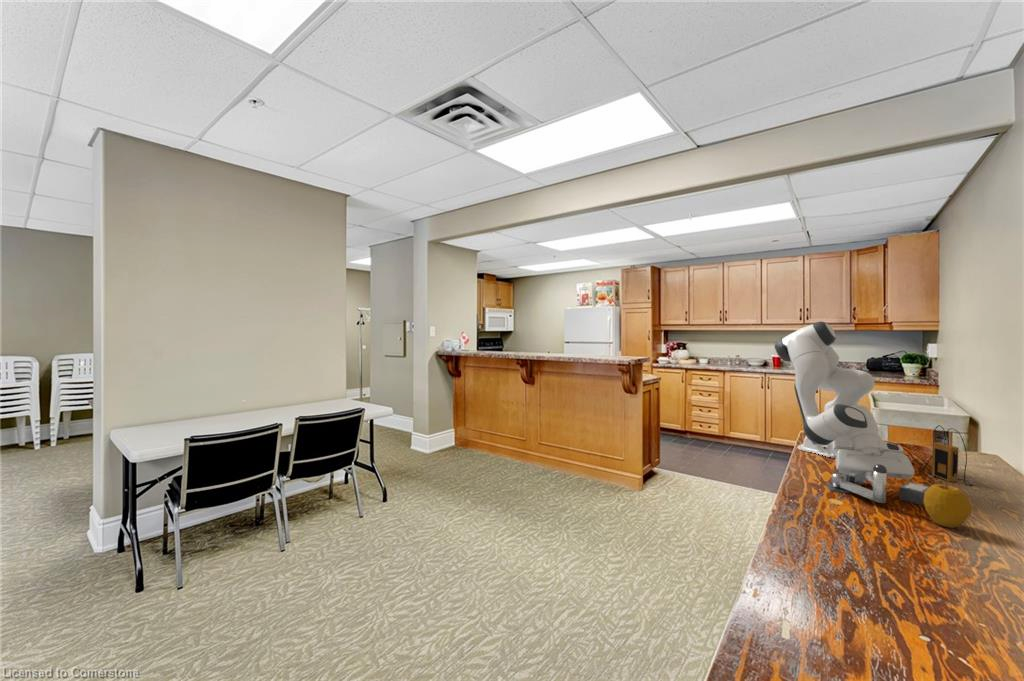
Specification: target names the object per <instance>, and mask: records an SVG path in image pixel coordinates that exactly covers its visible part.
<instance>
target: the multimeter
mask: <svg viewBox="0 0 1024 681" xmlns="http://www.w3.org/2000/svg"><path fill="white" fill-rule="evenodd" d="M939 427H941V428H942V430H943V439H942V442H935V440H934V438H932V455H931V456H930V458H929V459H928V461H927V462H926V464H925V466H924V467H923V472H924V473H925V472H926V471H925V470H926V468H927V465H928V464H929V462H930V461H931V472H932V473H931V475H932V476H933V477H934V476H936V477H935V478H938V477H939V478H938V479H941V480H943V481H944V480H945V481H947V482H949V483H950V482H951V483H955V482H958V480H962V481H963V482H964V485H965V486H969V487H972V486H973V482H975V480H973V479H970V480H969V479H968V478H966V471H967V462H968V455H967V454H968V453H967V448H966V444H965V441H964V438H963V437H962V435H961V433H960V432H959V431H958V430H957V429H955V428H952V430H954V431H956V432H957V433H958V434H959V436H960V438H961V441H962V444H963V448H964V450H965V451H964V452H965V466H964V473H963V474H964V475H963V477H958V475H959V474H958V471H959V468H958V467H959V447H958V446H955V445H951V444H949V440H948V439H949V438H948V435H949V434H948V433H949V431H951V428H948V429H947V430H946V431H945V429H944V427H942V425H940V424H939V425H937V426H936V427H935V428H934V430H933V432H932V436H934V434H935V431H936V430H937V429H938V428H939ZM945 435H946V436H945ZM966 481H968V483H969V484H966Z"/></svg>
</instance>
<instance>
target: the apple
mask: <svg viewBox="0 0 1024 681" xmlns="http://www.w3.org/2000/svg"><path fill="white" fill-rule="evenodd" d="M923 502H924V505H923V506H924V508H925V512H927V514H928V515H929V517H930V519H931V520H932V521H933V522H934V523H935V524H936V525H939V526H940V527H941V526H942V527H945V528H950V529H955V528H958V527H960V526H961V525H963V523H965V522H966V521H967V520H968V518H969V516H970V515H971V513H972V510H973V509H972V508H973V506H972V503H971V501H970V499H969V497H968V496H967V494H965V492H964V491H962V490H961V489H960V488H958V487H954V486H951V485H948V484H942V483H934V484H932V485H931V487H929V488H928V489H927V491H926V492H925V494H924V501H923Z"/></svg>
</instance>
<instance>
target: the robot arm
mask: <svg viewBox="0 0 1024 681" xmlns="http://www.w3.org/2000/svg"><path fill="white" fill-rule="evenodd" d="M836 339H837V337H836V333H835V330H834V328H833V327H832V326H831V325H830V324H828V323H827V322H825V321H816V322H813V323H812V324H809V325H806V326H804V327H801V328H799V329H797V330H795V331H793V332H792V333H790V334H788V335H786V336H784V337H783V338H782V337H781V338H780V339H779V340H777V341H776V342H775V344H774V350H775V353H776V355H777V357H779V358H780V359H781V360H782V361H783V362H787V363H789V362H791V364H792V366H793V369H794V374H795V380H794V386H793V387H794V392H795V397H796V400H797V404H798V407H799V411H800V415H801V418H802V427H803V432H804V435H805V437H804V439H803V443H801V444H799V445H798V446H797V450H799V451H804V452H807V453H810V452H812V453H811V454H814V453H816V454H815V455H818V454H819V455H818V456H822V455H823V456H822V457H825V456H826V458H829V457H831V458H830V459H835V468H836V470H837V471H839V472H843V473H852V474H862V475H865V477H866V479H867V481H869V482H870V484H871V487H872V488H873V467H874V466H875V465H877V464H880V465H883V466H885V467H886V469H887V476H886V478H892V479H893V478H894V479H901V480H902V479H903V480H910V479H912V478H913V476H914V475H915V469H914V466H913V464H912V462H911V460H910V458H909V457H908V455H906V454H904V448H903V446H901V445H899V444H898V445H897V444H895V443H893V442H892V443H891V442H888V441H886V440H884V439H882V438H881V436H880V435H879V426H878V424H877V421H876V420H875V417H874V415H873V414H872V412H871V411H870V409H869V408H867V407H866V406H863V405H860V404H859V402H860V401H861V399H862V398H863V397H864V396H866V395H868V394H869V393H871V392H872V390H873V389H874V386H875V379H874V377H873V376H872V374H871V373H869V372H868V371H863V370H859V369H855V368H844V367H840V366H838V365H839V363H840V362H839V361H840V356H839V354H838V353H837V352H836V351H835V349H834V348H833V347H832V346H831V345H832V344H834V343H835V342H836V341H835V340H836ZM818 389H819V390H823V391H826V392H835V396H834V398H833V399H832V400H830V401H827V402H826V404H824V408H823V409H824V410H823V412H821V413H820V412H819V408H818V405H817V401H816V393H817V391H818Z"/></svg>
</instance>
